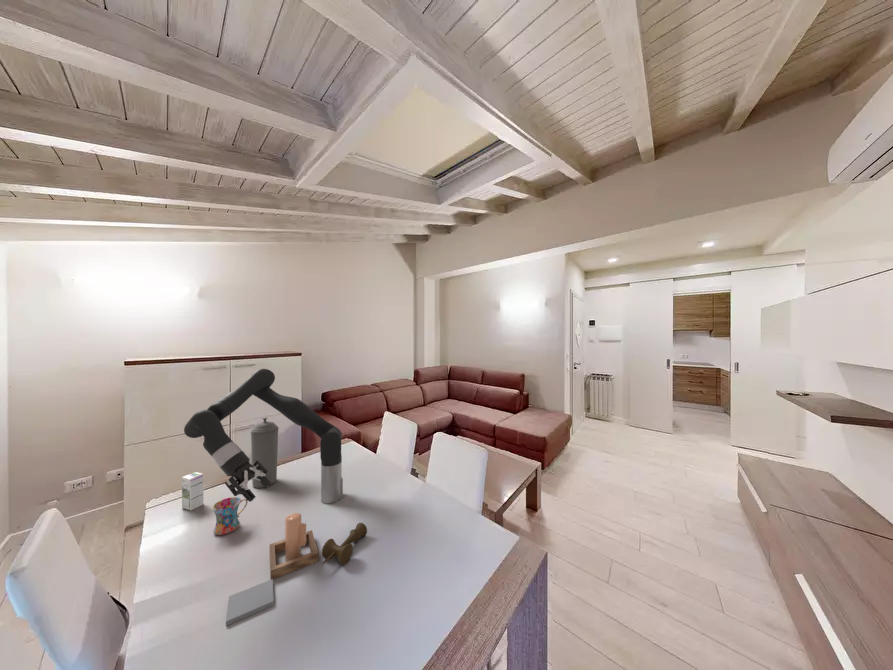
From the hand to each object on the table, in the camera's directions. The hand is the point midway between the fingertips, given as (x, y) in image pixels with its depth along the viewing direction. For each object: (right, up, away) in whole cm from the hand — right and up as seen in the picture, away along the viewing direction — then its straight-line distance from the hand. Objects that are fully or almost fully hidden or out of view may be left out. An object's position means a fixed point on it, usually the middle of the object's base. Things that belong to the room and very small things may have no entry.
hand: (261, 492), depth 101 cm
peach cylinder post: (+11, -23, 0) cm, 25 cm away
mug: (-23, -23, +16) cm, 36 cm away
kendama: (+29, -23, +3) cm, 37 cm away
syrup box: (-51, -24, +31) cm, 65 cm away
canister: (-32, -24, +52) cm, 65 cm away
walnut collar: (+11, -23, 0) cm, 25 cm away
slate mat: (+8, -23, -17) cm, 30 cm away
